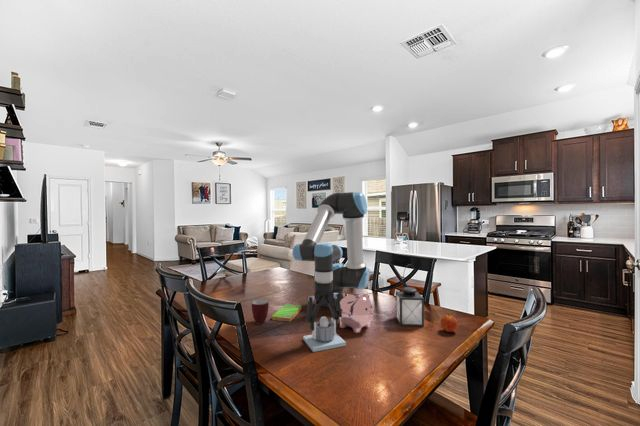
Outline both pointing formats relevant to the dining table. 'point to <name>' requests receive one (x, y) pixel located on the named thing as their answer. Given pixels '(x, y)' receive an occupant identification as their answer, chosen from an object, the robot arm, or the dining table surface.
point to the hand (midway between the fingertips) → (324, 336)
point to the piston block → (323, 345)
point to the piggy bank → (356, 311)
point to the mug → (260, 310)
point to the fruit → (449, 323)
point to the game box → (287, 312)
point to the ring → (324, 332)
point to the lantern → (409, 307)
